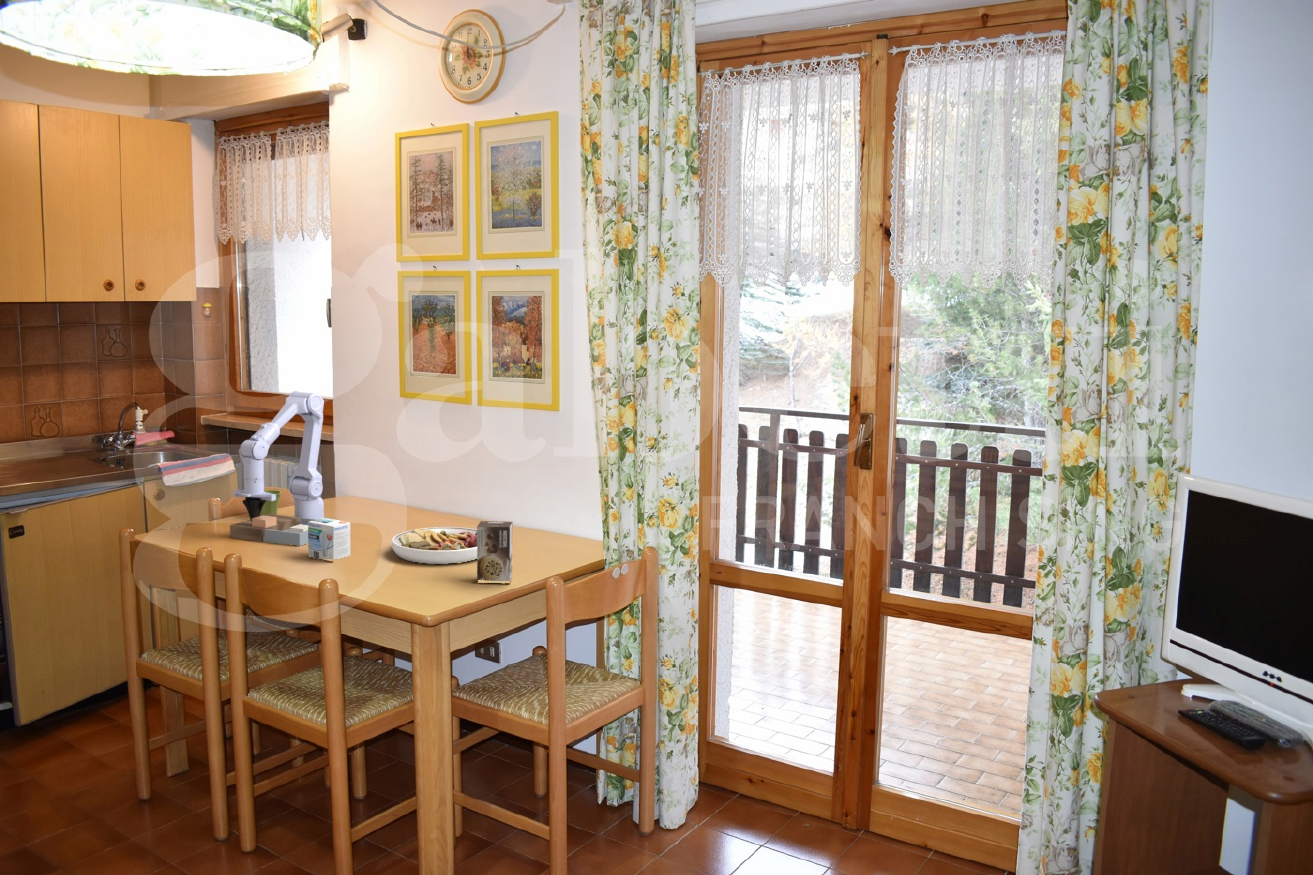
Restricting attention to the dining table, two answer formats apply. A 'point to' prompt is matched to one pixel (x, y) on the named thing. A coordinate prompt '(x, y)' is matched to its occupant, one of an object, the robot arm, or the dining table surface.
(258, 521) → the terracotta tile
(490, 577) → the coffee box
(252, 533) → the dark brown flat block
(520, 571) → the dining table surface
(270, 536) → the box
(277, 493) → the plant pot
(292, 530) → the cream tile
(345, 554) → the light bulb box
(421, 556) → the bowl
